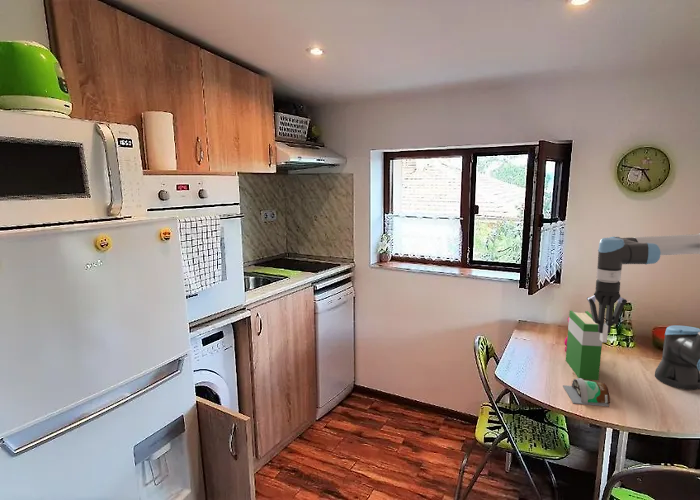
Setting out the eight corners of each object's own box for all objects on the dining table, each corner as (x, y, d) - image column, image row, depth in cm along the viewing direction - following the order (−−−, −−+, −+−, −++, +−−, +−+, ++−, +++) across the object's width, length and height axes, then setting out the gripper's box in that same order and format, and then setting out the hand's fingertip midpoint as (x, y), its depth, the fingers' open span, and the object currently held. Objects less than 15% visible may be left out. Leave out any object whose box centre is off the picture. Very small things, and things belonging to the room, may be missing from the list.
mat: (595, 388, 163) (595, 387, 163) (608, 406, 151) (608, 405, 151) (562, 386, 166) (562, 385, 166) (573, 403, 153) (573, 402, 153)
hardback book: (565, 360, 188) (569, 310, 184) (583, 361, 187) (587, 311, 183) (579, 378, 171) (583, 324, 167) (598, 380, 170) (603, 325, 166)
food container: (612, 389, 150) (583, 387, 152) (611, 405, 151) (581, 402, 153) (600, 374, 162) (572, 372, 164) (598, 388, 163) (571, 386, 165)
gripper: (592, 282, 147) (587, 344, 152) (632, 283, 145) (627, 345, 149) (585, 277, 155) (580, 336, 159) (623, 277, 152) (618, 337, 156)
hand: (603, 340), depth 154 cm, fingers closed
